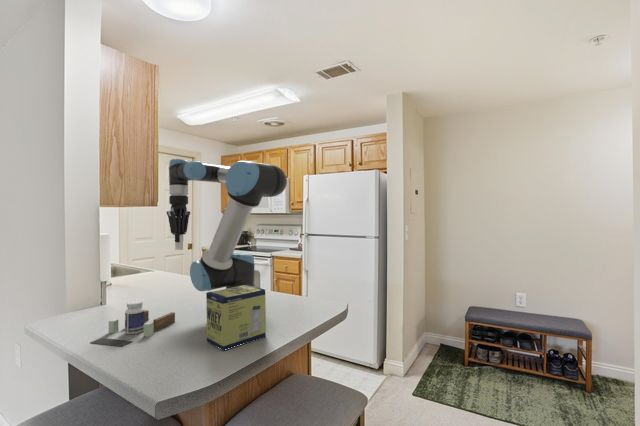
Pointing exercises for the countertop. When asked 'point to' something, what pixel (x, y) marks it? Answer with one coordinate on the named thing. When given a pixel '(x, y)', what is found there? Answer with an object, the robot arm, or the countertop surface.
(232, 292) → the protein box
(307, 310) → the countertop surface
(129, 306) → the pill bottle
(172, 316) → the lane
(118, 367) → the countertop surface
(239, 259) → the robot arm
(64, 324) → the countertop surface
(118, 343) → the mat
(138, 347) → the countertop surface
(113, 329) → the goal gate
